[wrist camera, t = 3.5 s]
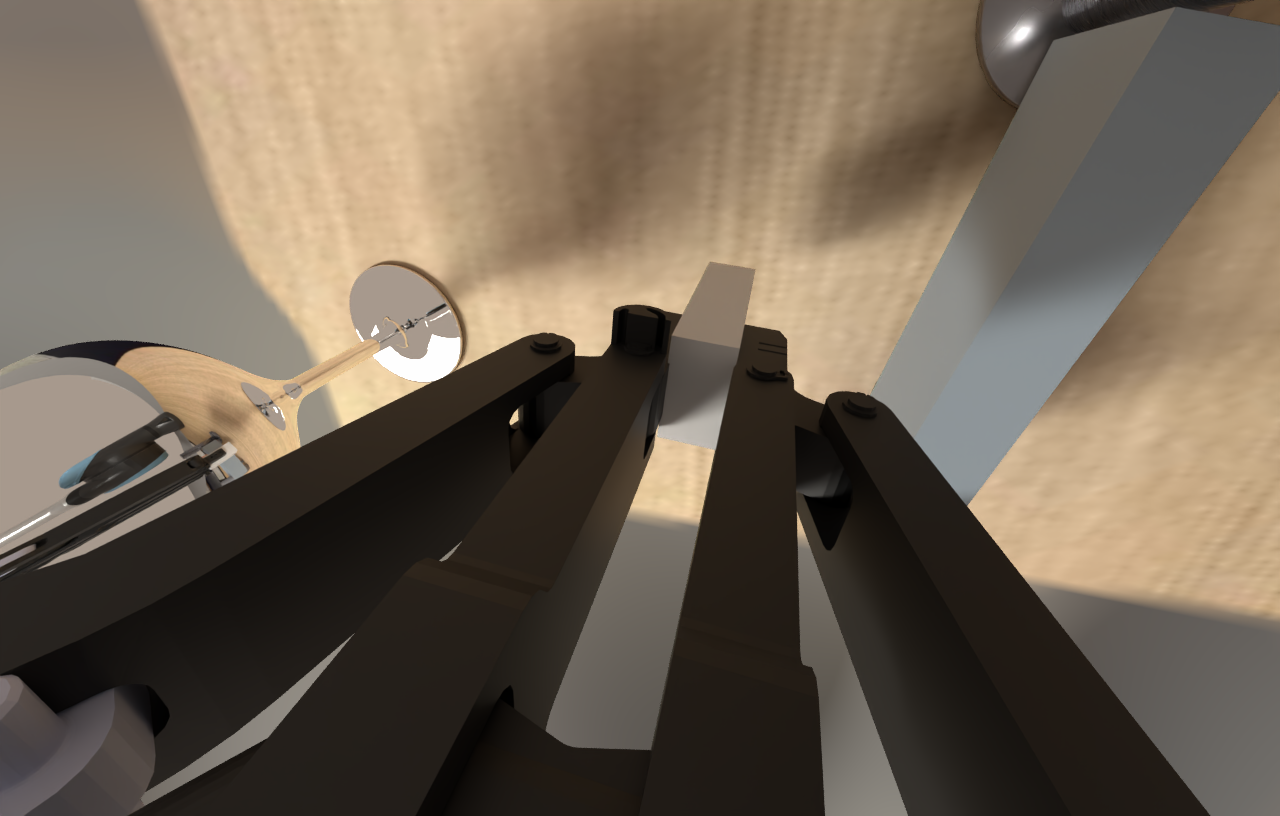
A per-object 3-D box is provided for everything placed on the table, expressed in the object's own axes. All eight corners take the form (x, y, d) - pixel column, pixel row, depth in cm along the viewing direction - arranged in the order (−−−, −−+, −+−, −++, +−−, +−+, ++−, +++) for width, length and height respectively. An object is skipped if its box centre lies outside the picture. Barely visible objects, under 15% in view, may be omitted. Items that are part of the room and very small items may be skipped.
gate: (1027, 47, 15) (1281, -23, 7) (1114, 64, 14) (1471, 11, 7) (828, 448, 23) (848, 612, 15) (880, 464, 23) (927, 639, 15)
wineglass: (488, 406, 27) (116, 770, 12) (360, 384, 29) (-109, 681, 14) (466, 253, 23) (-148, 523, 8) (316, 238, 24) (-431, 436, 9)
